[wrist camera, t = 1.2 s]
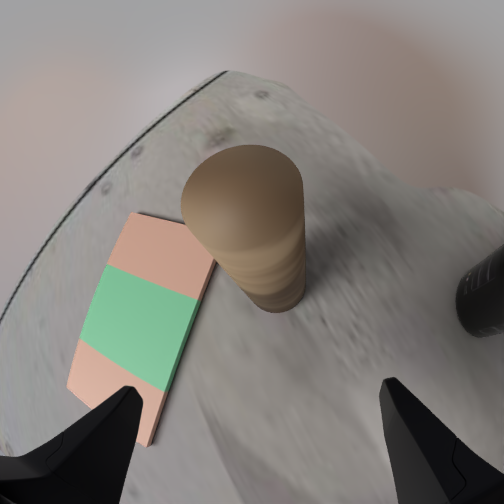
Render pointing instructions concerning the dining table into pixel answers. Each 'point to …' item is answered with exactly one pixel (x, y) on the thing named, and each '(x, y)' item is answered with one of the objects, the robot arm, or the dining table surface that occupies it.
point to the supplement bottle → (483, 297)
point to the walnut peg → (251, 221)
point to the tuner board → (141, 316)
